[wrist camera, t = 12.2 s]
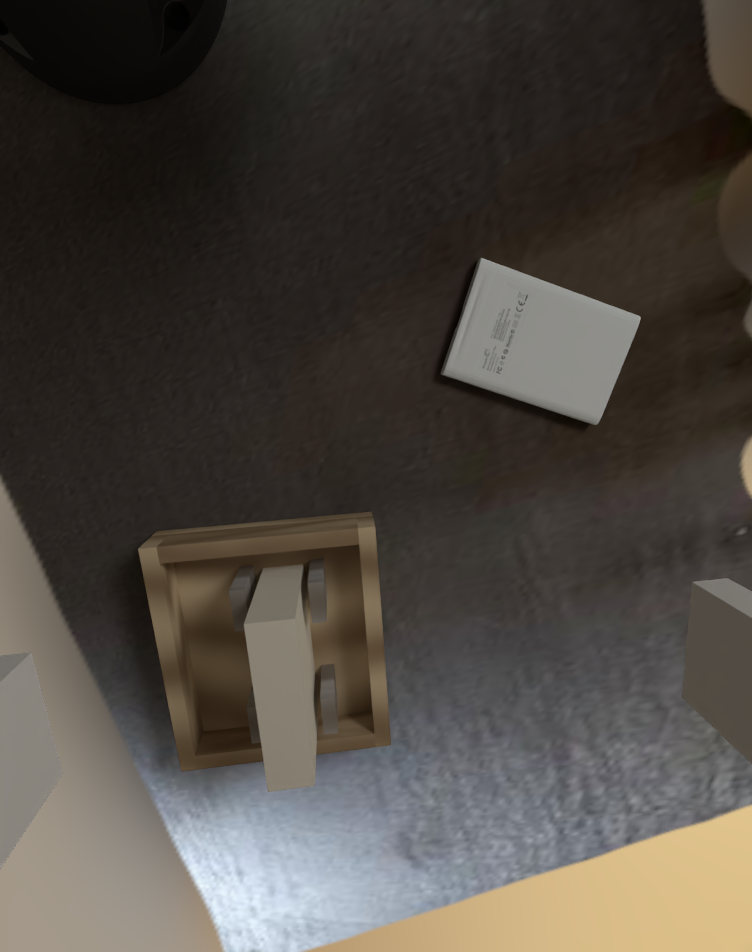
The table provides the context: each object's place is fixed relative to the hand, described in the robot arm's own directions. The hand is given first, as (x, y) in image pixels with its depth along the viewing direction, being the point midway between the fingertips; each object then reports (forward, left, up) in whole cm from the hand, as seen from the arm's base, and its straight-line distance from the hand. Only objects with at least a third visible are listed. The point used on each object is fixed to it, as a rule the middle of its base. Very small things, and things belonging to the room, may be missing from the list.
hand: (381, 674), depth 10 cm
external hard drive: (-6, +14, -28) cm, 32 cm away
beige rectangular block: (+14, -5, -26) cm, 30 cm away
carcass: (+14, -7, -27) cm, 31 cm away
